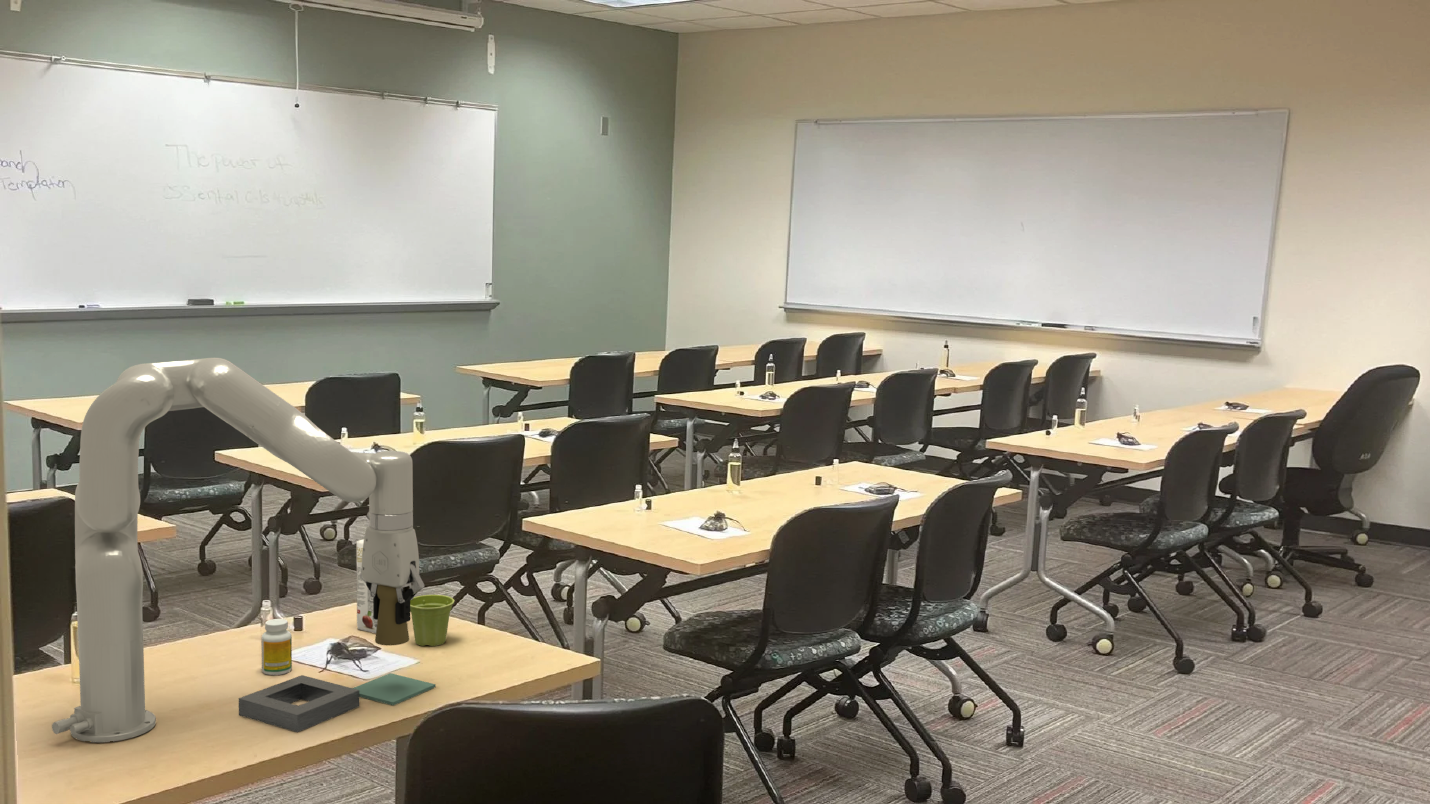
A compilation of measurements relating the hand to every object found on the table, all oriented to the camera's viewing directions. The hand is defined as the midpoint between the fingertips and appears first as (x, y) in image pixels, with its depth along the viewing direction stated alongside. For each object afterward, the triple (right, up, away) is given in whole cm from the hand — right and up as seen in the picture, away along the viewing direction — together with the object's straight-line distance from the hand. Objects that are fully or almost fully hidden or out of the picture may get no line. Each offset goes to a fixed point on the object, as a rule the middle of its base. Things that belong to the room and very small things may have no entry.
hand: (391, 618), depth 224 cm
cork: (0, -4, 0) cm, 4 cm away
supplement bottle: (-24, -12, +10) cm, 29 cm away
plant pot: (0, -10, +30) cm, 31 cm away
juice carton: (-12, -9, +38) cm, 41 cm away
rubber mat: (0, -13, +2) cm, 13 cm away
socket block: (-13, -14, -10) cm, 22 cm away
